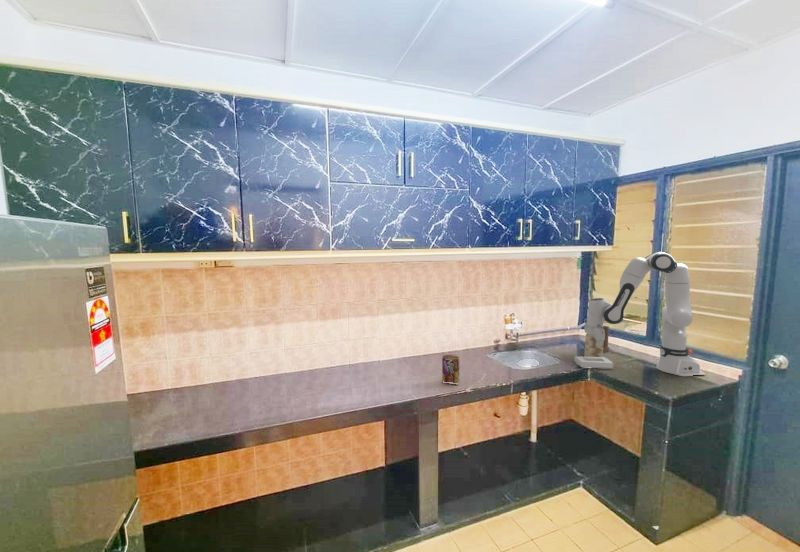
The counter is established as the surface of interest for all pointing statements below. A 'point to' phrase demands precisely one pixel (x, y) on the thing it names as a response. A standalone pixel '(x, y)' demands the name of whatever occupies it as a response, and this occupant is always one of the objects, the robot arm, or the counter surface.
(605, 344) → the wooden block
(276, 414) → the counter surface
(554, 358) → the counter surface
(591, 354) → the mottled tan box
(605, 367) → the end cap
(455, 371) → the candy box
